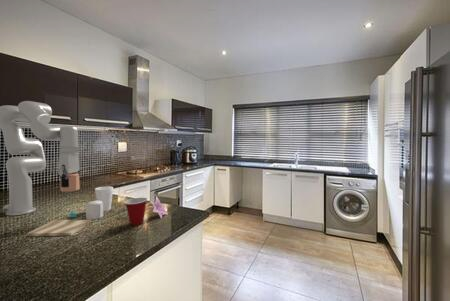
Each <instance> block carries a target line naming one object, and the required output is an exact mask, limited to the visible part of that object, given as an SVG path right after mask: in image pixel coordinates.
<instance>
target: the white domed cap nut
mask: <svg viewBox="0 0 450 301" xmlns="http://www.w3.org/2000/svg"><path fill="white" fill-rule="evenodd" d="M103 217H104V211H103V203H102V201H97V200H91V201H87V202H86V204H85V220H91V221H93V220H94V221H95V220H98V219H101V218H103Z"/></svg>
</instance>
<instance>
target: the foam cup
mask: <svg viewBox="0 0 450 301" xmlns="http://www.w3.org/2000/svg"><path fill="white" fill-rule="evenodd" d="M113 192H114V187H113V186H99V187H95V188H94V193H95V198H96V200H95V201H102V203H103V212H107V211H109V210H110V211H111V207H112V200H113Z"/></svg>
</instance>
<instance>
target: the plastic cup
mask: <svg viewBox="0 0 450 301" xmlns="http://www.w3.org/2000/svg"><path fill="white" fill-rule="evenodd" d="M147 201H148V197H136V198H135V197H134V198H130V199H127V200H125V201H124V202H123V204H124V205H125V207H126V211H127V214H128V219H129V224H130V225H131V226H140V225H142V224H143V222H144V218H145V213H146V206H147Z"/></svg>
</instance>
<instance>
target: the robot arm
mask: <svg viewBox="0 0 450 301" xmlns="http://www.w3.org/2000/svg"><path fill="white" fill-rule="evenodd" d="M52 115H53V109H52V107H51V106H50V105H49V104H47V103H42V102H38V101H37V102H36V101H32V100H24V101H21V102H19V103H18V105H7V104H6V105H1V106H0V129H1V132H2V137H3V140H4V145H5V150H6V152H7V153H8V154H10V155H15V156H13V157H10V158H8V159H7V161H5V168H6V171H7V176H8V197H9V198H8V199H9V200H8V202H9V203H8V204H5V205H4V206H3V207H2V209H3V210H7V211H6V212H5V216H10V217H11V216H12V217H13V216H20V215H25V214H26V215H27V214H31V213H33V212H35V211H37V208H36V207H34V206H33V181H32V177H31V176H29V174H30V173H36V172H42V171H44V170H45V169H46V168H47V160H46V156H45V151H44V146H43V143H42V142H41V141H40V140H42V141H44V142H45V141H46V142H47V141H48V142H49V141H50V142H51V141H52V142H55V141H56V142H58V141H59V156H58V167H57V174H58V175H59V179H61V185H60V188H61V187H69V179H68V176H69V174H70V173H78V174H80V170H81V167H80V157H79V129H78V127H76V126H73V125H72V126H71V125H70V126H69V125H65V126H64V125H63V126H59V125H49V123H50V122H51V119H52V118H51V116H52ZM17 122H20V123H21V122H22V123H23V122H24V123H29V128H30V131H31V133H32V134H33V135H34V136H35V137H37V138H31V137H25V133H24V129H23V128H22V127H21V126H20V125H19V124H18V123H17ZM16 155H18V156H16ZM19 155H21V156H19ZM22 155H23V156H22ZM24 155H25V156H24ZM28 173H29V174H28ZM65 175H66V176H65Z"/></svg>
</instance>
